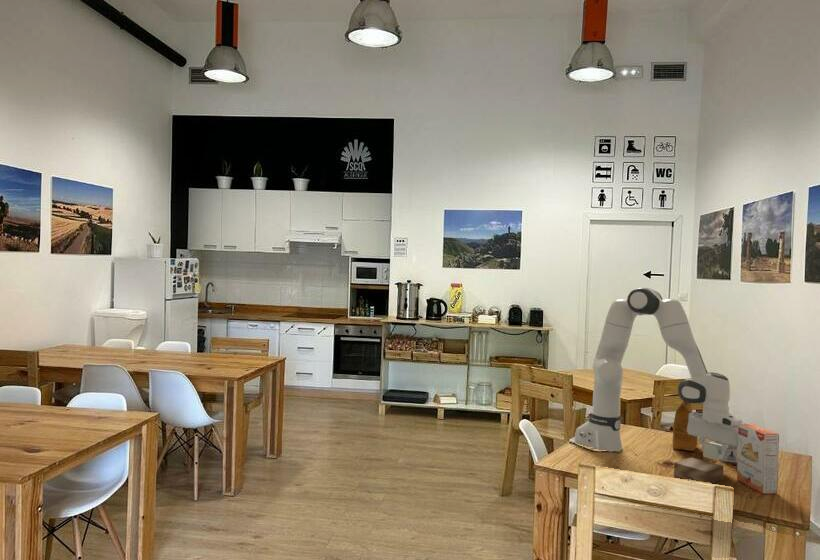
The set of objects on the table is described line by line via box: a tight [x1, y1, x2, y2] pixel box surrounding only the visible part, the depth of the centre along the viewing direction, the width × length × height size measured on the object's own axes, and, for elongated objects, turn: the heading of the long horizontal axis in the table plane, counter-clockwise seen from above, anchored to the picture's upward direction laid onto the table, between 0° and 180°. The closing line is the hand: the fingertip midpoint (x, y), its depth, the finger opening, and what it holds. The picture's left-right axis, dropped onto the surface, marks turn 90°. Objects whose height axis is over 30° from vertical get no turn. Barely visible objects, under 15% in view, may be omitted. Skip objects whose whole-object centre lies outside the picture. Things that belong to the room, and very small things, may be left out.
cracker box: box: [736, 423, 780, 495], centre depth 211 cm, size 14×6×21 cm, turn 5°
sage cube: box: [702, 441, 724, 461], centre depth 228 cm, size 5×5×5 cm
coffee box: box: [714, 441, 738, 464], centre depth 244 cm, size 9×6×16 cm
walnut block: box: [673, 456, 724, 484], centre depth 219 cm, size 12×12×5 cm
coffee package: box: [671, 400, 699, 452], centre depth 257 cm, size 10×12×22 cm
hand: (713, 452), depth 228 cm, fingers closed on sage cube, 5 cm apart
